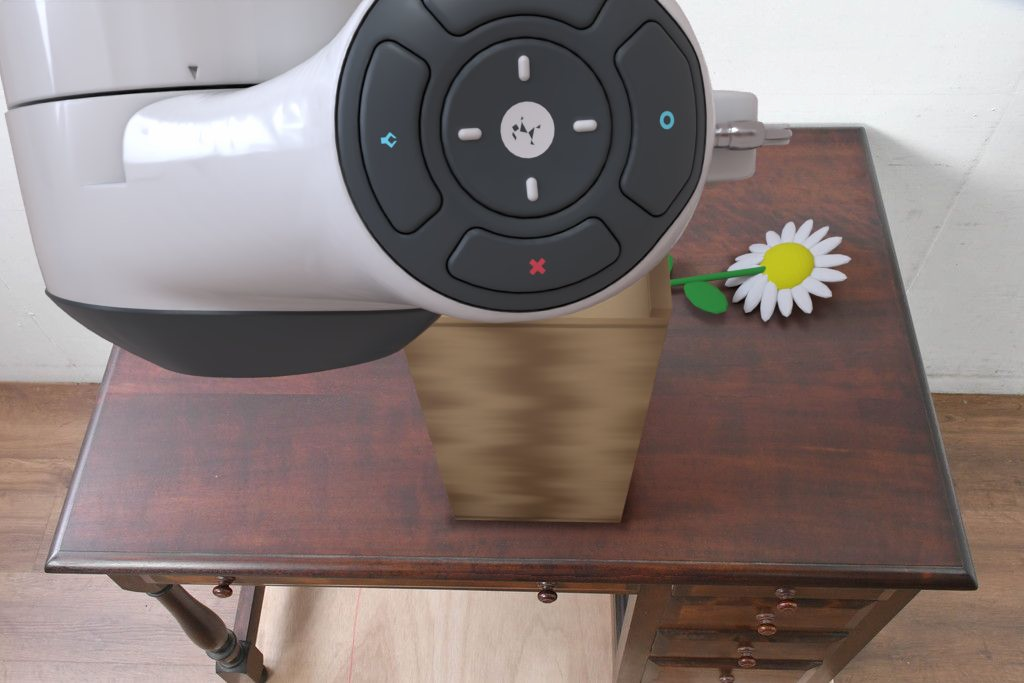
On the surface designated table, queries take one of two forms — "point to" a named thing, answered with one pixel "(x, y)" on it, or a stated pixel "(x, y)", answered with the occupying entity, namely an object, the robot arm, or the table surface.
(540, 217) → the robot arm
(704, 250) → the table surface
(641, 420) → the tall wooden cabinet
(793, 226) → the decorative flower
